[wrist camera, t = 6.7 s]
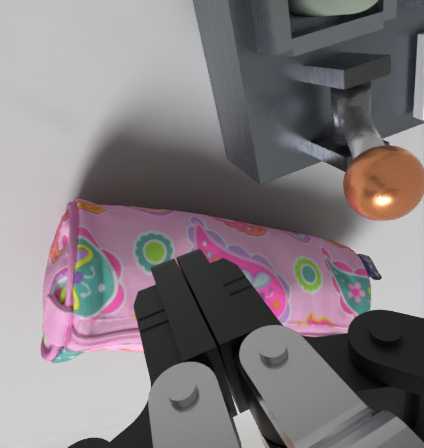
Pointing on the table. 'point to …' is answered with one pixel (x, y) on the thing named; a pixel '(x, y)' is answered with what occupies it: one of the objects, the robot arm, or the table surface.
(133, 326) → the pencil case
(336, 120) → the toggle lever
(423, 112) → the block
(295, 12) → the button sage
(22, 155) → the table surface
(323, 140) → the console
